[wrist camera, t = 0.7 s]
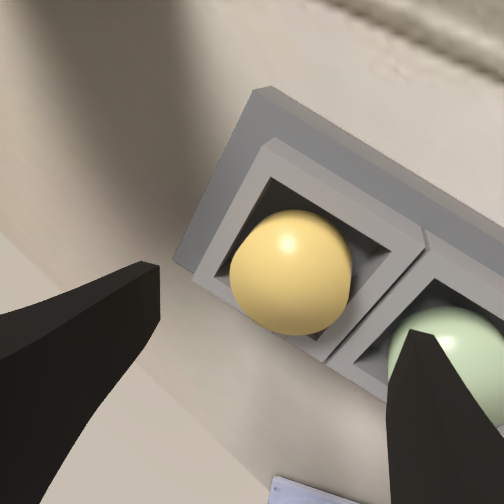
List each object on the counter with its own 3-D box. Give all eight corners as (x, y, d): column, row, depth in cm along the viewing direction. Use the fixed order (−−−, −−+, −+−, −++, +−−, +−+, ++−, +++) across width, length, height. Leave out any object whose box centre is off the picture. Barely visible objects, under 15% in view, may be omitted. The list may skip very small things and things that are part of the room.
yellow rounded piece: (376, 249, 15) (375, 273, 13) (314, 325, 17) (307, 354, 15) (277, 188, 15) (263, 204, 13) (228, 271, 17) (211, 294, 16)
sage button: (536, 348, 15) (557, 386, 13) (453, 412, 17) (462, 451, 15) (434, 286, 15) (442, 315, 13) (366, 357, 17) (364, 390, 15)
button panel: (734, 369, 18) (851, 470, 13) (563, 466, 22) (608, 565, 18) (271, 85, 18) (237, 93, 14) (195, 237, 22) (151, 278, 18)
